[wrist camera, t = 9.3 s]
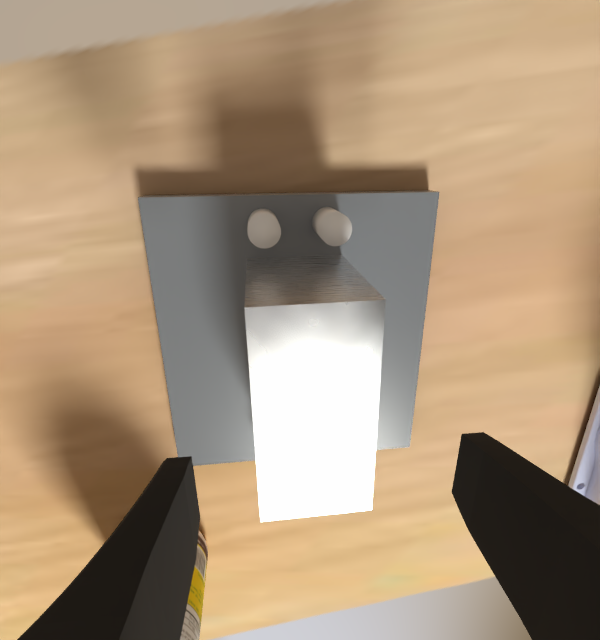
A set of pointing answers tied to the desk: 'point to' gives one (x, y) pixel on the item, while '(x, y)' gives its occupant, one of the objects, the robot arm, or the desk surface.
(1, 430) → the desk surface
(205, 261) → the pin tray
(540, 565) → the robot arm
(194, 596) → the supplement bottle
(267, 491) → the block
